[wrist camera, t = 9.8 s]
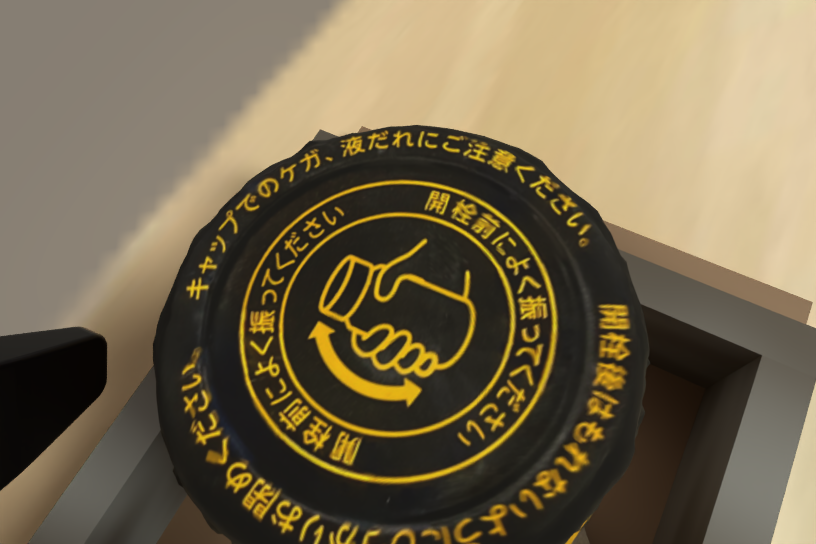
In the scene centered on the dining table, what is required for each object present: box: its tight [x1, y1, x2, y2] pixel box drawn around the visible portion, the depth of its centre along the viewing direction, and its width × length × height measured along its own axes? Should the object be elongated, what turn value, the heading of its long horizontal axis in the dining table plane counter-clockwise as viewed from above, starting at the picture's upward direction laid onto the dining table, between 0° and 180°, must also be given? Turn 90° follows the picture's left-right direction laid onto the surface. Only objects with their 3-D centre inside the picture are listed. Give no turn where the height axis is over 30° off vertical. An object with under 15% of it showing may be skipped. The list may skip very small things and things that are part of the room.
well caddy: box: [28, 126, 816, 544], centre depth 15 cm, size 20×16×4 cm
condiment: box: [153, 125, 650, 544], centre depth 11 cm, size 7×8×12 cm
